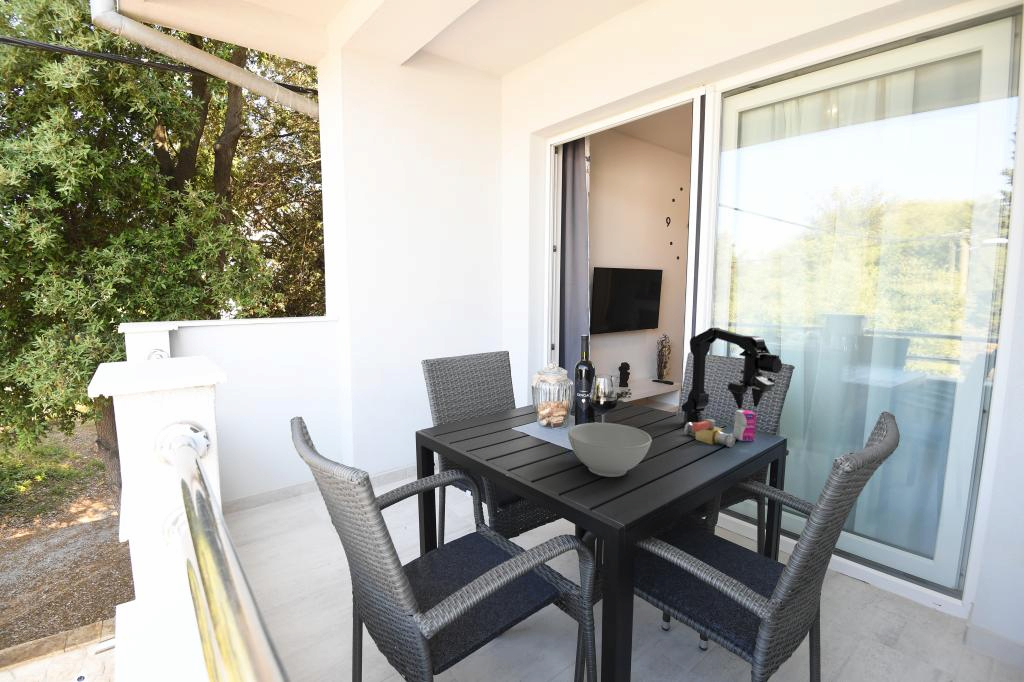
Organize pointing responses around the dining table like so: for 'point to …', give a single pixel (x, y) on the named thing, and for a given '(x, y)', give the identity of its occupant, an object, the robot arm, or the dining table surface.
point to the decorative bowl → (609, 447)
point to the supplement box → (744, 425)
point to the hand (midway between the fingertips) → (747, 407)
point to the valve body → (711, 435)
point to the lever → (703, 425)
